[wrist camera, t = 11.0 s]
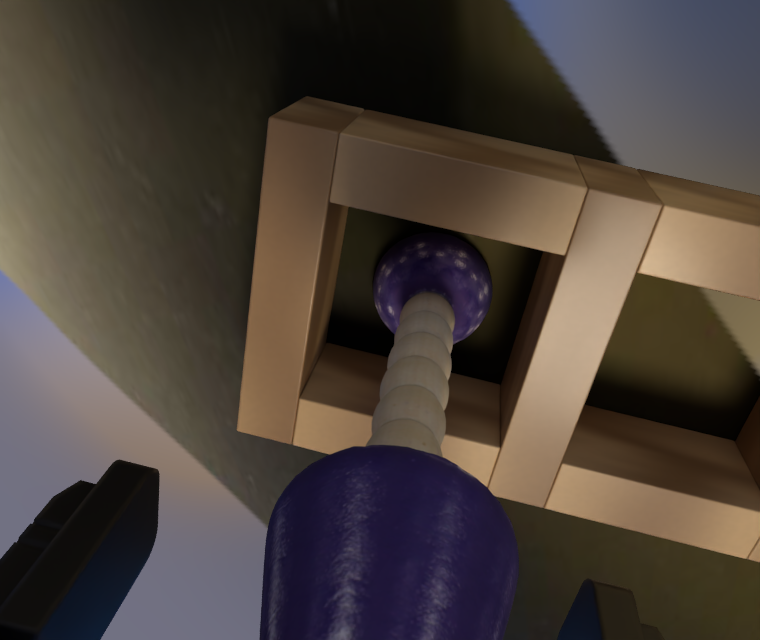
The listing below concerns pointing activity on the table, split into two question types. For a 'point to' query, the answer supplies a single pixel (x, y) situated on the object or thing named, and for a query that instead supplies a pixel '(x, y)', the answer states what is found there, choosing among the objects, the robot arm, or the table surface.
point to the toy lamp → (398, 487)
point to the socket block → (538, 325)
